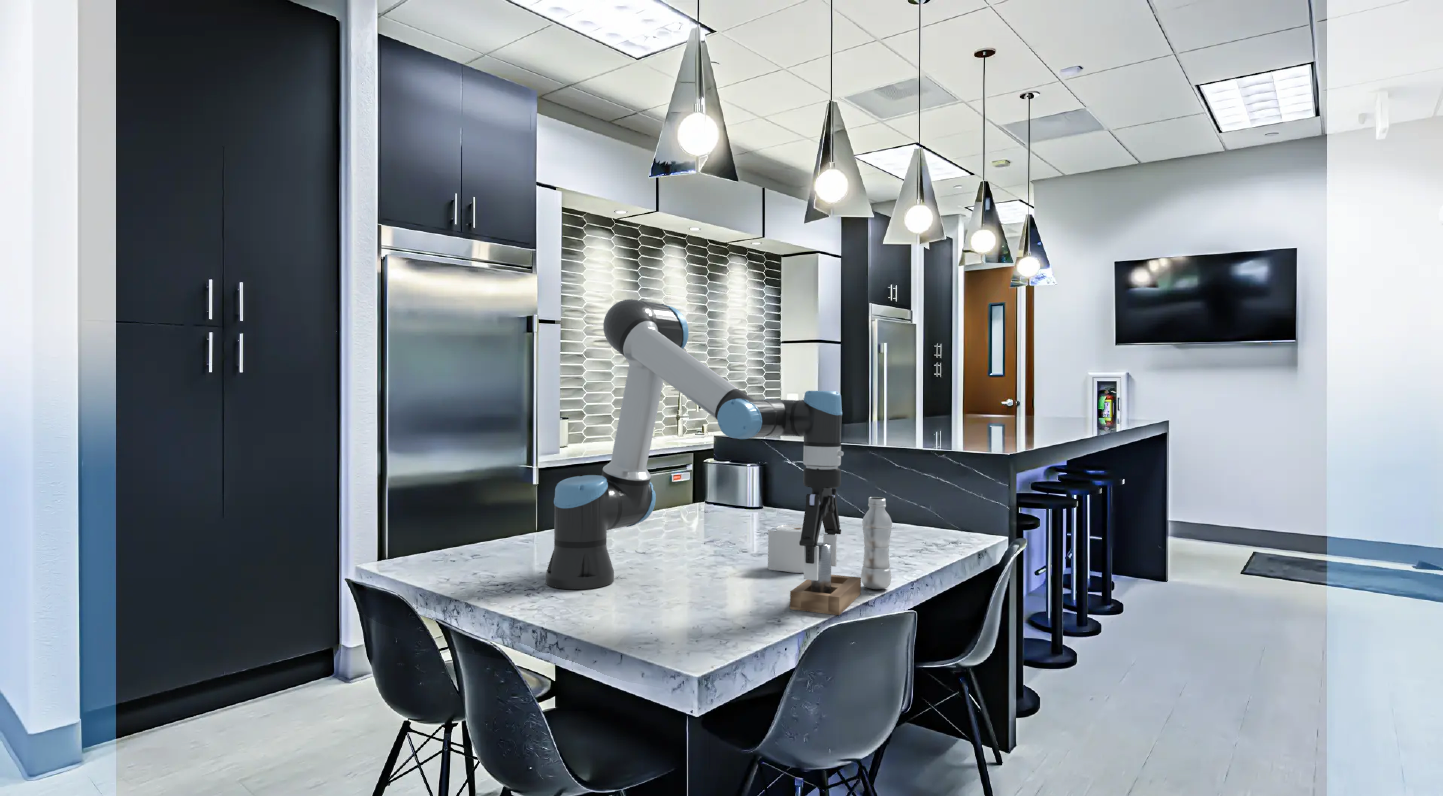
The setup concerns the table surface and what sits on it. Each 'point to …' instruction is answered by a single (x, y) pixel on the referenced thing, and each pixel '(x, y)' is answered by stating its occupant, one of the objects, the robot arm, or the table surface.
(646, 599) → the table surface
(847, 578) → the block
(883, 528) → the plastic bottle
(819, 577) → the pin
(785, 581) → the table surface
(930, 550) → the table surface
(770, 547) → the toilet tissue
